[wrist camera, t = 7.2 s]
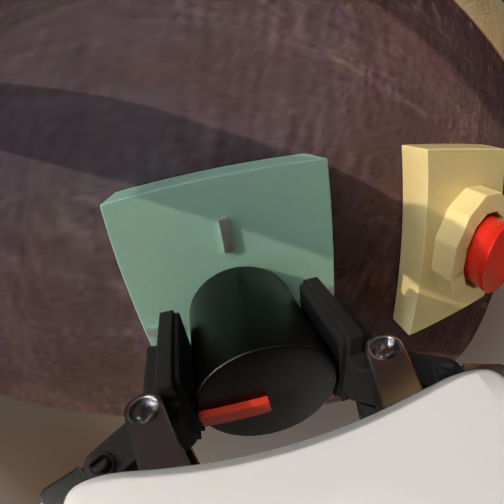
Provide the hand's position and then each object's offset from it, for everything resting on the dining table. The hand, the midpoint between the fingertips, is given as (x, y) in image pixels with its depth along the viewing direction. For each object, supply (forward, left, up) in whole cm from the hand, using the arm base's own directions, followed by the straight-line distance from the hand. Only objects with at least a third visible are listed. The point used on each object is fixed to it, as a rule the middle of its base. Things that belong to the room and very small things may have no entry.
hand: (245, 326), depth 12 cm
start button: (0, -15, 0) cm, 15 cm away
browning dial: (0, 0, -1) cm, 1 cm away
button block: (0, -15, -4) cm, 15 cm away
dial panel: (0, 0, -4) cm, 4 cm away
